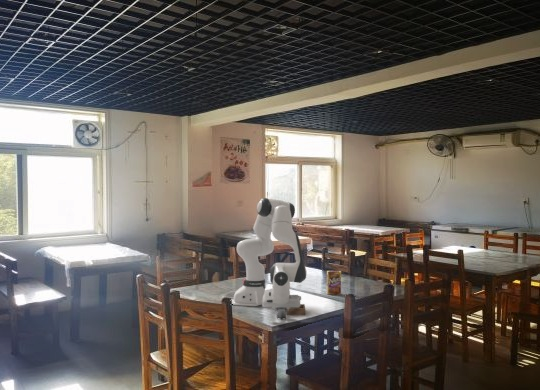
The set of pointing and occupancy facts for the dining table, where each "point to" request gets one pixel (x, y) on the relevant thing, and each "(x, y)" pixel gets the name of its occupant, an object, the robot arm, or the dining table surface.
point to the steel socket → (281, 312)
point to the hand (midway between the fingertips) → (281, 309)
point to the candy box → (333, 282)
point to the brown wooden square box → (297, 310)
